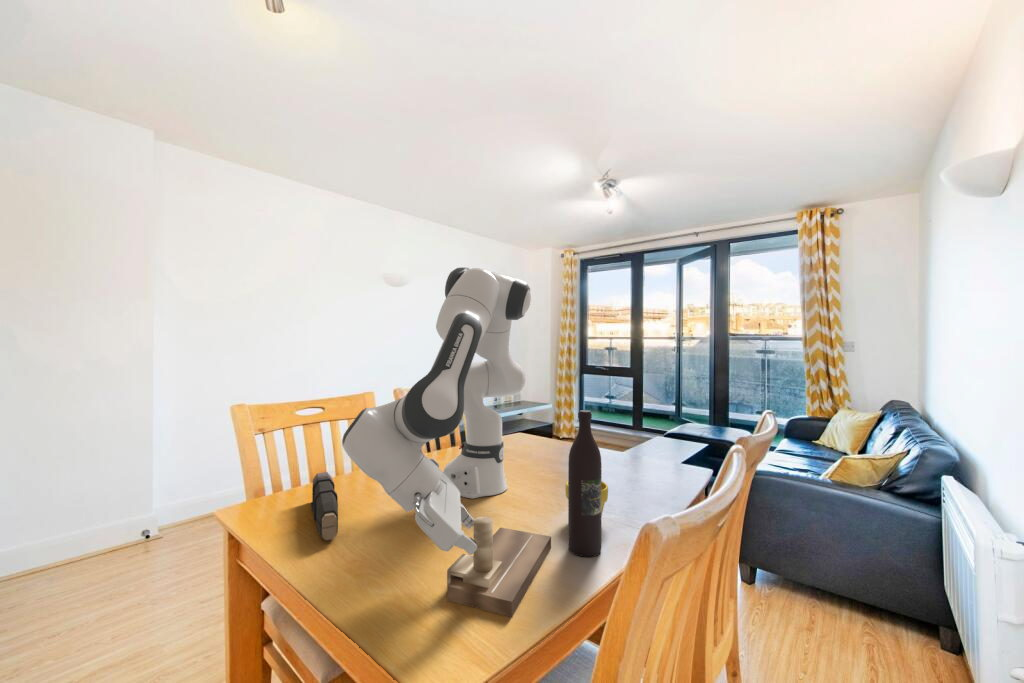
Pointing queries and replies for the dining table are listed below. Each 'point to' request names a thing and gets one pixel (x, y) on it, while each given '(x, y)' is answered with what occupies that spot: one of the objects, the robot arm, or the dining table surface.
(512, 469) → the dining table surface
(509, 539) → the board
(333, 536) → the dark grey segmented bar
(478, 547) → the beige peg stand
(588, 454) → the wine bottle
